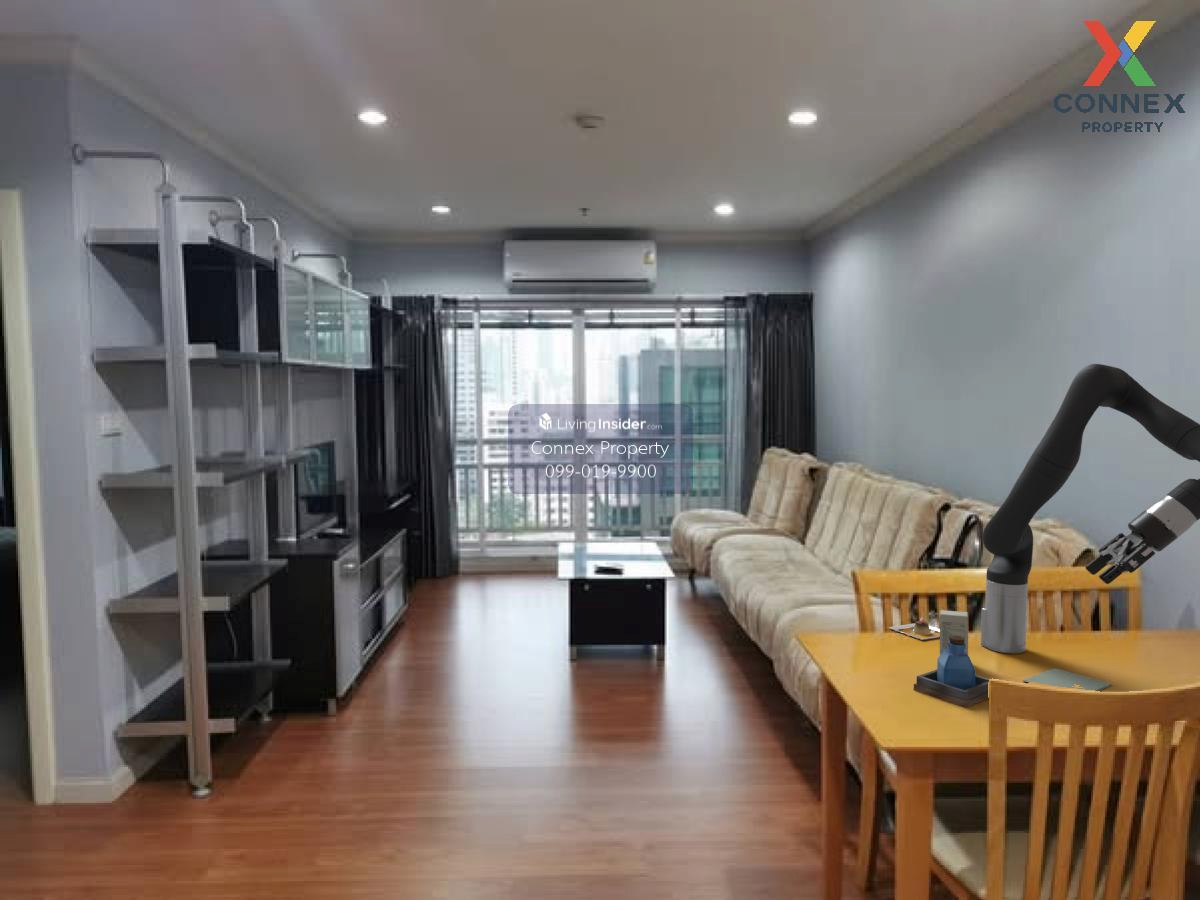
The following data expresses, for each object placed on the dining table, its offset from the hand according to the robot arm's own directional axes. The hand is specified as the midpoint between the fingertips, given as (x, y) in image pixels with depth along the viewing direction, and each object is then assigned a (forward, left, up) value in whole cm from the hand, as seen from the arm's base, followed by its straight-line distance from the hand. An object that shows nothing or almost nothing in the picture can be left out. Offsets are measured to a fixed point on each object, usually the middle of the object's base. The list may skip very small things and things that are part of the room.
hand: (1095, 576), depth 162 cm
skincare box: (-30, -2, -27) cm, 40 cm away
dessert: (-49, +14, -27) cm, 58 cm away
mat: (-8, +6, -26) cm, 28 cm away
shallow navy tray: (-19, -19, -26) cm, 37 cm away
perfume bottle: (-19, -19, -27) cm, 37 cm away
